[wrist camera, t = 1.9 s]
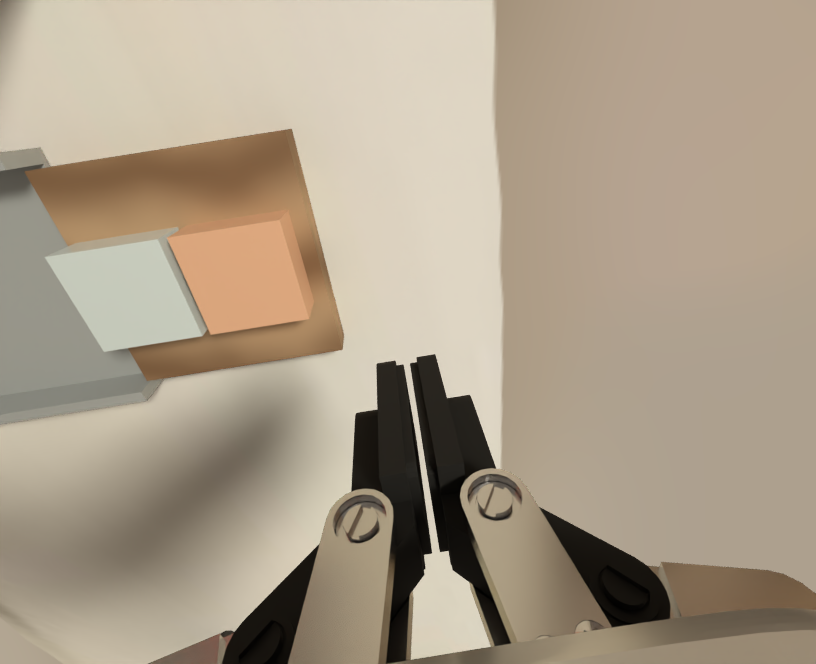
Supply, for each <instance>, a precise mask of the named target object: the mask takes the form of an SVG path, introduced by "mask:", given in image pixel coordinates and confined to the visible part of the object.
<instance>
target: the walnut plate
mask: <svg viewBox="0 0 816 664" xmlns="http://www.w3.org/2000/svg"><path fill="white" fill-rule="evenodd" d="M24 172H25V174H26V176H27V177H28V179H29V181H30V182H31V184H32V186H33V188H34V189H35V191H36V193H37V194H38V196H39V198H40V199H41V201H42V203H43V205H44V206H45V208H46V210H47V211H48V213H49V215H50V217H51V218H52V220H53V222H54V223H55V225H56V227H57V228H58V230H59V232H60V234H61V235H62V237H63V239H64V240H65V242H66V244H67V245H68V246H70V245H72V244H75V243H79V242H86V241H92V240H98V239H105V238H111V237H117V236H124V235H130V234H136V233H143V232H149V231H155V230H162V229H168V228H174V227H178V229H179V230H180V229H182V228H183V227H185V226H187V225H193V224H199V223H206V222H212V221H218V220H225V219H231V218H237V217H244V216H250V215H256V214H263V213H269V212H275V211H282V210H288V211H289V214H290V218H291V221H292V225H293V228H294V232H295V236H296V239H297V243H298V246H299V250H300V253H301V257H302V260H303V264H304V267H305V271H306V274H307V278H308V281H309V285H310V288H311V292H312V296H313V299H314V304H313V307H312V311H311V314H310V318H309V319H307V320H300V321H294V322H288V323H282V324H275V325H269V326H263V327H257V328H250V329H244V330H238V331H232V332H225V333H219V334H213V335H211V334H210V332H209V330H208V329H207V331H206V332H205V334H204V335H203V336H200V337H194V338H188V339H182V340H175V341H169V342H163V343H157V344H150V345H144V346H138V347H132V348H128V349H129V351H130V353H131V355H132V356H133V358H134V360H135V361H136V363H137V365H138V366H139V368H140V370H141V372H142V373H143V375H144V377H145V378H146V380H147V381H151V380H157V379H163V378H169V377H176V376H182V375H188V374H194V373H200V372H207V371H213V370H219V369H225V368H232V367H238V366H244V365H250V364H257V363H263V362H269V361H275V360H281V359H288V358H294V357H300V356H306V355H313V354H319V353H325V352H331V351H338V350H342V349H343V340H344V334H343V330H342V326H341V322H340V318H339V314H338V310H337V306H336V302H335V298H334V294H333V290H332V286H331V282H330V278H329V274H328V270H327V266H326V263H325V259H324V255H323V251H322V247H321V243H320V239H319V235H318V231H317V227H316V223H315V219H314V215H313V211H312V207H311V203H310V199H309V195H308V191H307V188H306V184H305V180H304V176H303V172H302V168H301V164H300V160H299V156H298V152H297V148H296V144H295V140H294V136H293V132H292V129H288V130H281V131H275V132H269V133H262V134H256V135H250V136H243V137H237V138H231V139H224V140H218V141H211V142H205V143H199V144H192V145H186V146H180V147H173V148H167V149H160V150H154V151H148V152H141V153H135V154H129V155H122V156H116V157H110V158H103V159H97V160H90V161H84V162H78V163H71V164H65V165H59V166H52V167H46V168H41V169H35V170H30V171H24Z"/></svg>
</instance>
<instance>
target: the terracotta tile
mask: <svg viewBox="0 0 816 664" xmlns="http://www.w3.org/2000/svg"><path fill="white" fill-rule="evenodd" d="M167 239H168V241H169V243H170V246H171V248H172V250H173V252H174V255H175V257H176V259H177V261H178V263H179V266H180V268H181V270H182V272H183V274H184V277H185V279H186V281H187V283H188V286H189V288H190V290H191V292H192V294H193V297H194V299H195V301H196V303H197V305H198V308H199V310H200V312H201V314H202V317H203V319H204V321H205V323H206V325H207V328H208V330H209V332H210V334H211V335H213V334H219V333H225V332H232V331H238V330H244V329H250V328H257V327H263V326H269V325H275V324H282V323H288V322H294V321H300V320H307V319H309V318H310V314H311V311H312V307H313V304H314V299H313V296H312V292H311V288H310V285H309V281H308V278H307V274H306V271H305V267H304V264H303V260H302V257H301V253H300V250H299V246H298V243H297V239H296V236H295V232H294V228H293V225H292V221H291V218H290V214H289V211H288V210H282V211H275V212H269V213H263V214H256V215H250V216H244V217H237V218H231V219H225V220H218V221H212V222H206V223H199V224H193V225H187V226H185V227H183V228H182V229H180V230H178V231H177V232H175V233H174V234H172V235H171V236H169V237H167Z"/></svg>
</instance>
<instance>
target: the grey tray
mask: <svg viewBox="0 0 816 664" xmlns="http://www.w3.org/2000/svg"><path fill="white" fill-rule="evenodd" d="M46 167H51V166H50V165H49V163H48V161H47V159H46V157H45V156H44V154H43V152H42V150H41V148H34V149H25V150H17V151H8V152H0V425H1V424H7V423H13V422H19V421H25V420H32V419H38V418H44V417H50V416H57V415H63V414H69V413H75V412H81V411H88V410H94V409H100V408H106V407H113V406H119V405H125V404H131V403H137V402H144V401H147V400H148V399H149V397H150V396H151V395H152V393H153V392H154V391H155V390H156V388H157V387H158V386H159V384H160V383H161V382H162V380H163V379H164V378H163V379H157V380H151V381H147V380H146V378H145V377H144V375H143V373H142V372H141V370H140V368H139V366H138V365H137V363H136V361H135V360H134V358H133V356H132V355H131V353H130V351H129V349H128V348H125V349H119V350H113V351H106V352H104V351H103V350H102V348H101V346H100V345H99V343H98V342H97V340H96V338H95V337H94V335H93V334H92V332H91V331H90V329H89V327H88V326H87V324H86V323H85V321H84V319H83V318H82V316H81V315H80V313H79V311H78V310H77V308H76V307H75V305H74V303H73V302H72V300H71V299H70V297H69V295H68V294H67V292H66V291H65V289H64V287H63V286H62V284H61V283H60V281H59V279H58V278H57V276H56V275H55V273H54V271H53V270H52V268H51V267H50V265H49V263H48V262H47V260H46V259H45V257H46V256H48V255H50V254H53V253H55V252H57V251H59V250H61V249H64V248H66V247H68V245H67V244H66V242H65V240H64V239H63V237H62V235H61V234H60V232H59V230H58V228H57V227H56V225H55V223H54V222H53V220H52V218H51V217H50V215H49V213H48V211H47V210H46V208H45V206H44V205H43V203H42V201H41V199H40V198H39V196H38V194H37V193H36V191H35V189H34V188H33V186H32V184H31V182H30V181H29V179H28V177H27V176H26V174H25V172H24V171H30V170H35V169H41V168H46Z"/></svg>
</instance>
